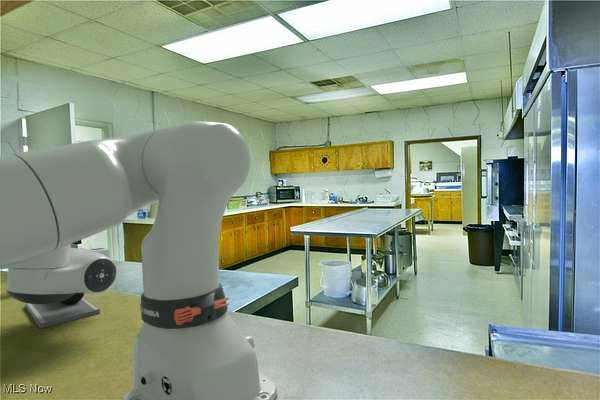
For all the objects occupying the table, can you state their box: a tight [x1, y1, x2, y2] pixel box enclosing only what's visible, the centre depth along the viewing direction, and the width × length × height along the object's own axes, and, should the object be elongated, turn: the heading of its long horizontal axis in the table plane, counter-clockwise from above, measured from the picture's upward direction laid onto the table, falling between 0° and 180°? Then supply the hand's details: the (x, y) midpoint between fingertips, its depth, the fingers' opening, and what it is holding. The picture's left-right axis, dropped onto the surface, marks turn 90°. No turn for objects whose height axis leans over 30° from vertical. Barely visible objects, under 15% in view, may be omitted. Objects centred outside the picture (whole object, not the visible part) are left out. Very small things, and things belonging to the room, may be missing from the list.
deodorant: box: [61, 293, 85, 305], centre depth 95 cm, size 6×6×15 cm
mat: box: [24, 296, 101, 329], centre depth 88 cm, size 22×12×1 cm, turn 46°
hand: (52, 261), depth 89 cm, fingers closed
